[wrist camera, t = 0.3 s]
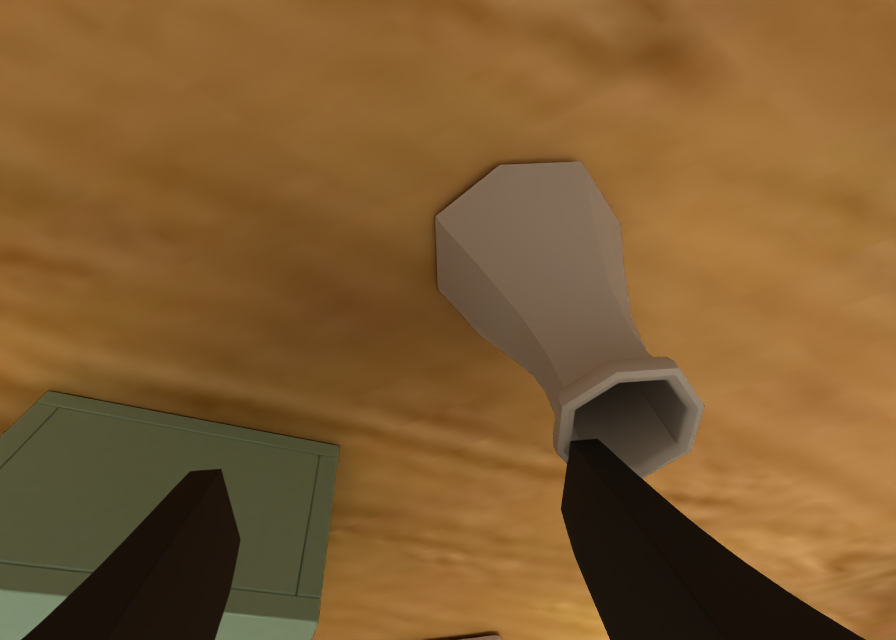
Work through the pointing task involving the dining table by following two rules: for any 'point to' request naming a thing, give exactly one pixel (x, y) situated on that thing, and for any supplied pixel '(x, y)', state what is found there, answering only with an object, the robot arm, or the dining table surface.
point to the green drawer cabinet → (141, 489)
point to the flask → (564, 309)
